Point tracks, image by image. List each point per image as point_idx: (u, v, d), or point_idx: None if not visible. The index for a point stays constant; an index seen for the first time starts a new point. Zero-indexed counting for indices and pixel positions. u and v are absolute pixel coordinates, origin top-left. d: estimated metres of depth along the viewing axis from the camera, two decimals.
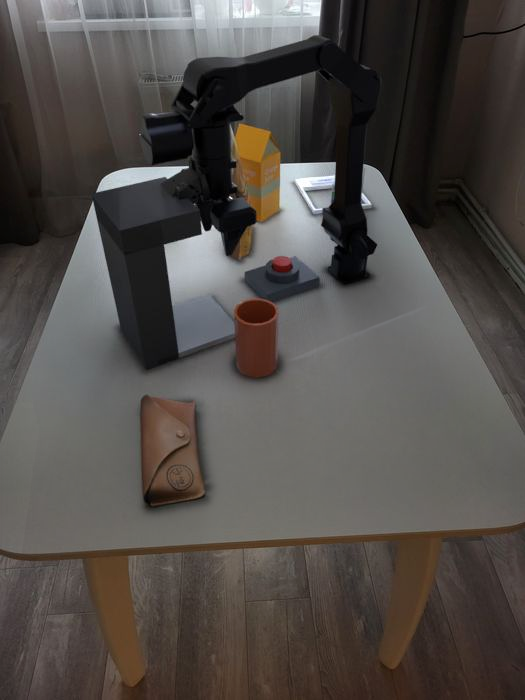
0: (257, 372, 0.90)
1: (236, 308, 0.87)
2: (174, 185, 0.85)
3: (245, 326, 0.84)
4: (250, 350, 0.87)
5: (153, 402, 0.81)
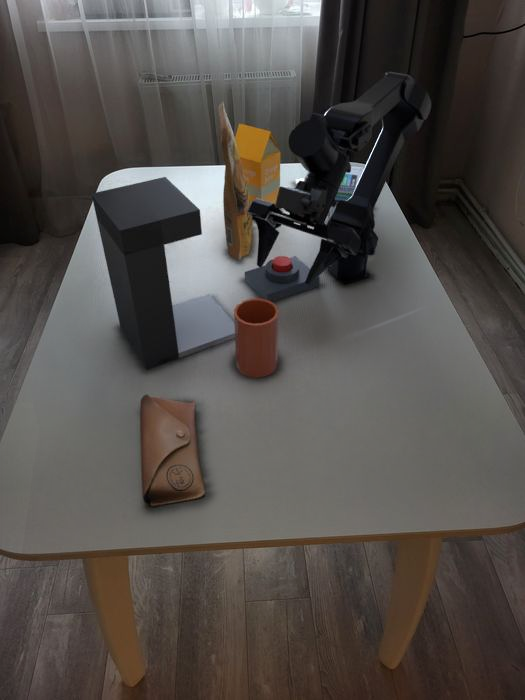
0: (257, 372, 0.90)
1: (236, 308, 0.87)
2: (299, 191, 0.83)
3: (245, 326, 0.84)
4: (250, 350, 0.87)
5: (153, 402, 0.81)
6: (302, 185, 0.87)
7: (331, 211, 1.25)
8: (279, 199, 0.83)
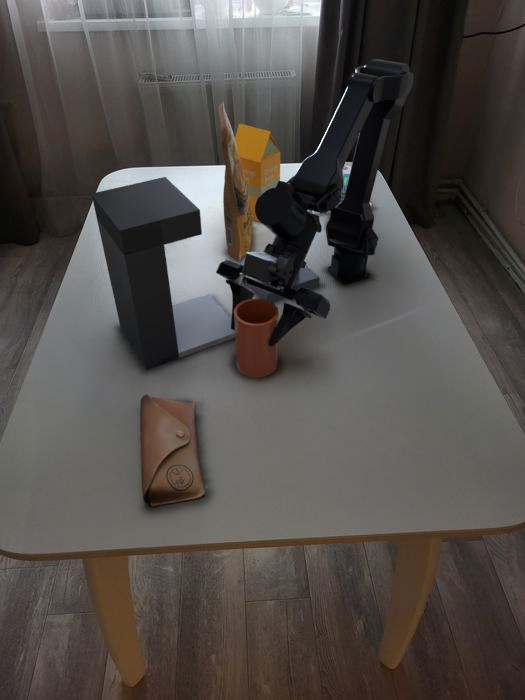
0: (257, 372, 0.90)
1: (236, 308, 0.87)
2: (266, 257, 0.82)
3: (245, 326, 0.84)
4: (250, 350, 0.87)
5: (153, 402, 0.81)
6: (270, 248, 0.86)
7: None
8: (246, 265, 0.82)
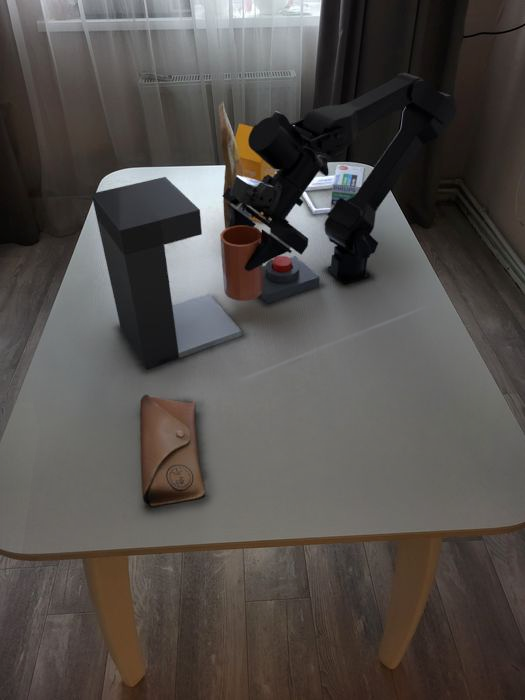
0: (235, 294, 0.96)
1: (226, 229, 0.94)
2: (252, 183, 0.87)
3: (224, 245, 0.91)
4: (229, 270, 0.94)
5: (153, 402, 0.81)
6: (267, 179, 0.91)
7: None
8: (233, 187, 0.88)
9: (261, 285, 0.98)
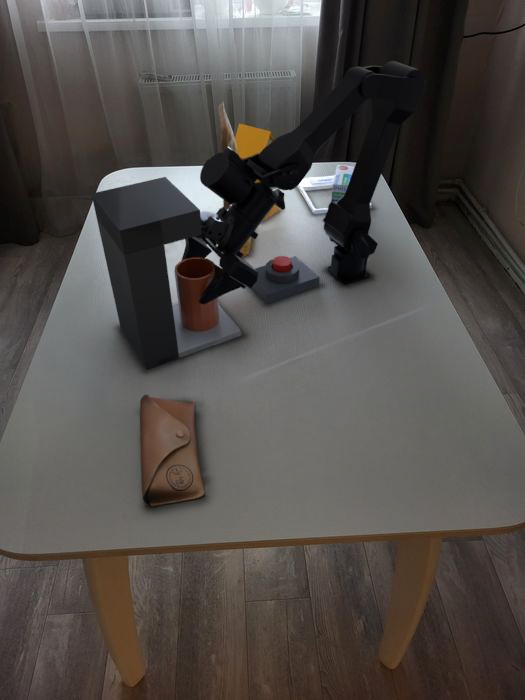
0: (190, 325, 0.98)
1: (182, 261, 0.95)
2: (204, 215, 0.88)
3: (177, 277, 0.92)
4: (183, 302, 0.95)
5: (153, 402, 0.81)
6: (221, 211, 0.91)
7: None
8: None
9: (216, 316, 0.99)
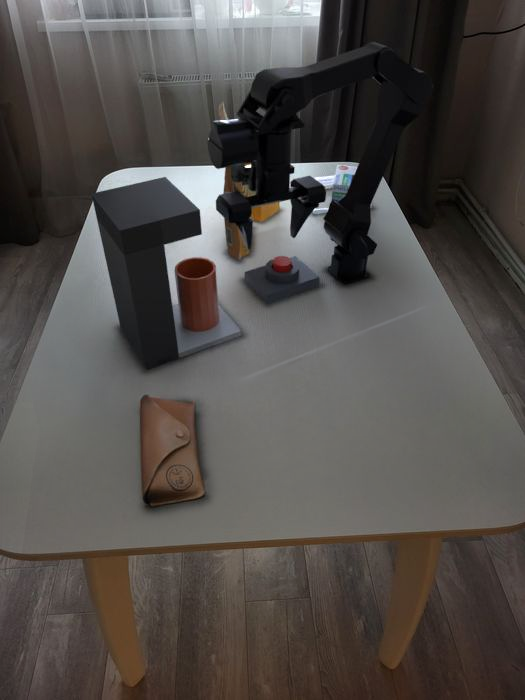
0: (190, 325, 0.98)
1: (182, 261, 0.95)
2: None
3: (177, 277, 0.92)
4: (183, 302, 0.95)
5: (153, 402, 0.81)
6: None
7: None
8: None
9: (216, 316, 0.99)
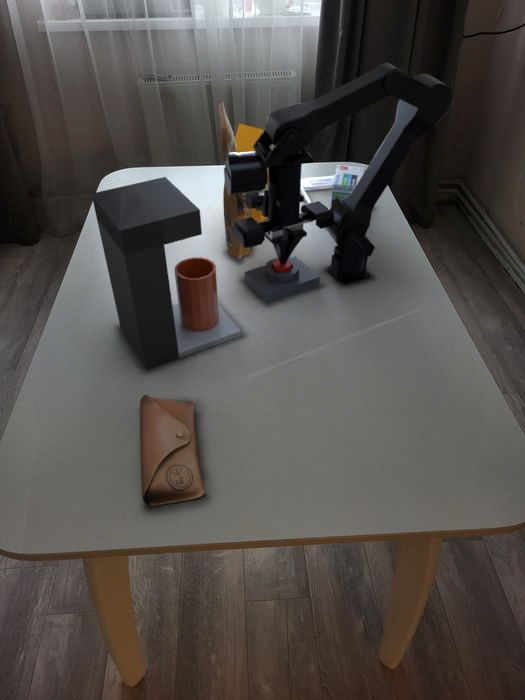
0: (190, 325, 0.98)
1: (182, 261, 0.95)
2: None
3: (177, 277, 0.92)
4: (183, 302, 0.95)
5: (153, 402, 0.81)
6: None
7: None
8: None
9: (216, 316, 0.99)
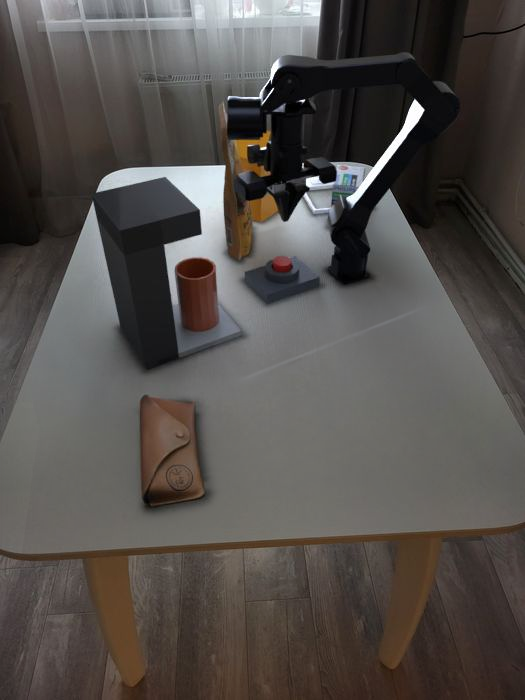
0: (190, 325, 0.98)
1: (182, 261, 0.95)
2: None
3: (177, 277, 0.92)
4: (183, 302, 0.95)
5: (152, 402, 0.81)
6: None
7: None
8: None
9: (216, 316, 0.99)
